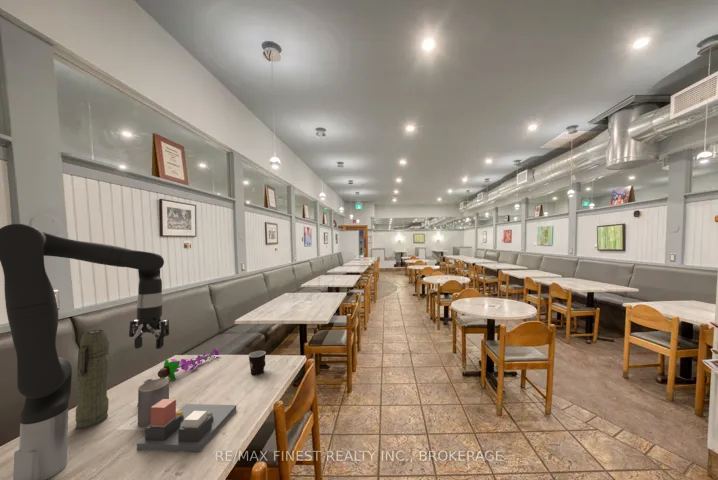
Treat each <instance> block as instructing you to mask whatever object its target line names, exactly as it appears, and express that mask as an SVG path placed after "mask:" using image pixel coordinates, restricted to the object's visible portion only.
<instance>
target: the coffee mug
mask: <svg viewBox="0 0 718 480" xmlns="http://www.w3.org/2000/svg"><path fill="white" fill-rule="evenodd" d="M266 354H267V352H266V351H264V350H256V351H252V352H250V353H249V354H248V361H249V367H250V368H249V369H250V375H251V374H252V375H251V376H261V374H263V373H264V372H265V366H266Z"/></svg>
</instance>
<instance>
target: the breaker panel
mask: <svg viewBox="0 0 718 480" xmlns="http://www.w3.org/2000/svg"><path fill="white" fill-rule="evenodd" d="M193 411H207V420H206V421H205V422H204V423H203V424H202V425H201V426H200V427H199V428H184V419H185V418H186V417H188V416H189V415H190V414H191V413H192V412H193ZM236 411H237V404H205V403H204V404H203V403H202V404H199V403H195V404H194V403H186V404H184V405H182V407H181V408H179V409H178V410H176V416H175V419H174V420H173V421H171V422H170V423H169V424H168V425H167V426H165V427H151V424H150V425H149V426H148V427H144V428H145V431H144V432H145V433H144V435H145V436H144V437H143V438H142V439H140V441H139V440H138V442H137V443H136V450H139V451H159V450H164V451H163V452H165V451H166V452H167V451H168V452H192V453H200V451H202V449H204V448H205V446H206V445H207V444H208V443H209V441H211V440H212V438H213V437H214V436H215V435H216V434H217V432H219V430H220V429H221V428H222V427H223V426H224V425H225V423H227V421H228V420H229V419H230V418H231V416H233V415H234V414H235V412H236Z"/></svg>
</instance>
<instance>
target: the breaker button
mask: <svg viewBox="0 0 718 480" xmlns="http://www.w3.org/2000/svg"><path fill="white" fill-rule="evenodd" d="M206 420H207V411H193V412H192V413H191V414H190V415H189V416H188V417H186V418H185V419H184V428H199V427H200V426H201V425H202V424H203V423H204V422H205V421H206Z"/></svg>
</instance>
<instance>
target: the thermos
mask: <svg viewBox="0 0 718 480" xmlns="http://www.w3.org/2000/svg"><path fill="white" fill-rule="evenodd" d="M108 337H109V336H108V334H107V332H106V330H104V329H94V330H89V331H87V332H85V333H84V334H83V335H82V337H81V339H80V341H79V350H78V353H77V367H76V380H77V382H78V388H77V389H78V390H77V391H78V395H77V406H76V408H75V422H76V424H75V428H76V429H78V430H82V429H87V428H91V427H93V426H96V425H98V424H100V423H103V422H104V421H105V420H107V419H108V416H109V415H108V411H109V398H108V374H109V372H110V358H109V346H110V345H109V342H110V341H109V339H108Z"/></svg>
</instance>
